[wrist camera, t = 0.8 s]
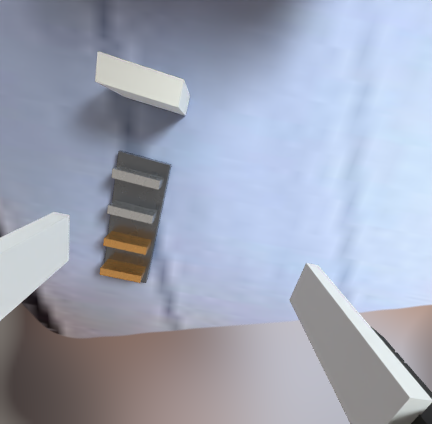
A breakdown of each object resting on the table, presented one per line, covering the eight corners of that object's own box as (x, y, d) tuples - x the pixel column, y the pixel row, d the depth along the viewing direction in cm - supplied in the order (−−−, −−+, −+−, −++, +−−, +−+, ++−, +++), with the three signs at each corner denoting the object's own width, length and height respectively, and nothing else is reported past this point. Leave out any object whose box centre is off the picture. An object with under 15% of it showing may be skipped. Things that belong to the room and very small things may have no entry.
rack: (121, 150, 29) (110, 152, 25) (171, 164, 30) (167, 167, 26) (105, 270, 35) (94, 284, 32) (147, 279, 36) (141, 293, 32)
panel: (127, 75, 26) (97, 51, 19) (190, 95, 27) (184, 79, 20) (124, 97, 27) (95, 81, 20) (185, 115, 28) (178, 107, 21)
